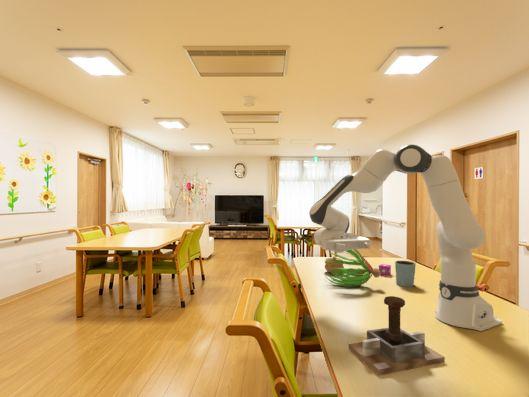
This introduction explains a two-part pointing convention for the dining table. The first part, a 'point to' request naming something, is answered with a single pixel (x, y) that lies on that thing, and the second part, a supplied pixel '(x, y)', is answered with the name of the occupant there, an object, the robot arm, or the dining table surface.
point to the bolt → (394, 319)
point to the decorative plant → (353, 271)
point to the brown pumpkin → (333, 265)
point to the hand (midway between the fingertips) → (357, 247)
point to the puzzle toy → (385, 269)
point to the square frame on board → (395, 352)
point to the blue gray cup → (405, 273)
